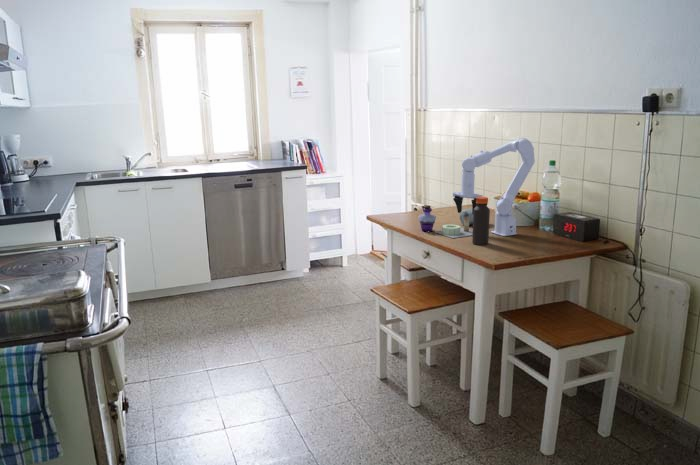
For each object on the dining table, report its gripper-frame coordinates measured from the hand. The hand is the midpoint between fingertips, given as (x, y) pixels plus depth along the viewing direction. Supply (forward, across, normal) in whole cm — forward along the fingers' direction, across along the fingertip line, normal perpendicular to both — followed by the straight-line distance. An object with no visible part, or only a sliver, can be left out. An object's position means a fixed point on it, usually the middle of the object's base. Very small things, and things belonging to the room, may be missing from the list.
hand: (466, 213), depth 266 cm
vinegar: (+9, -16, +15) cm, 23 cm away
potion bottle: (+9, +16, +8) cm, 21 cm away
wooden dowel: (+8, 0, 0) cm, 9 cm away
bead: (+8, +4, +7) cm, 12 cm away
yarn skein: (+9, +6, -17) cm, 20 cm away
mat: (+9, +2, +5) cm, 10 cm away
